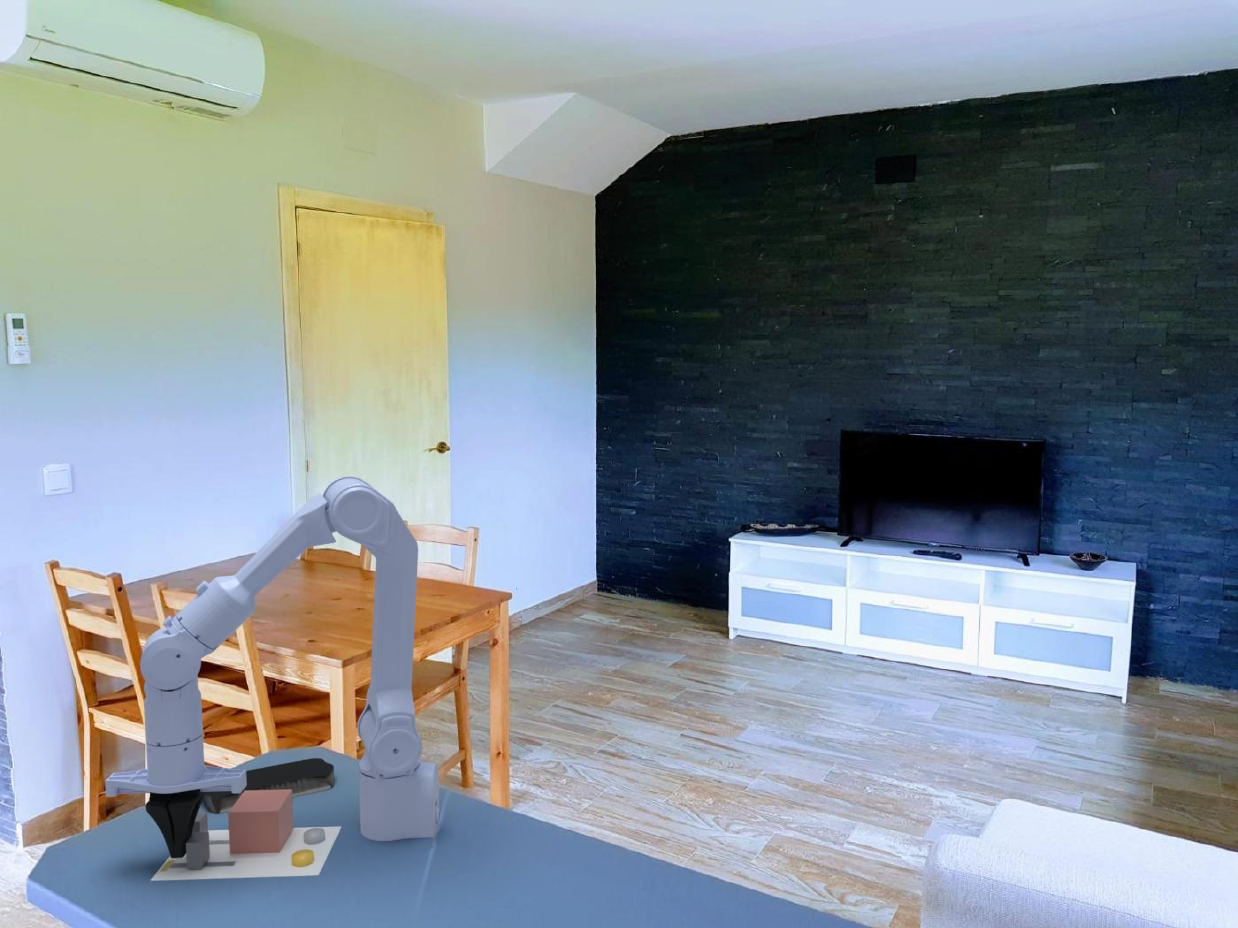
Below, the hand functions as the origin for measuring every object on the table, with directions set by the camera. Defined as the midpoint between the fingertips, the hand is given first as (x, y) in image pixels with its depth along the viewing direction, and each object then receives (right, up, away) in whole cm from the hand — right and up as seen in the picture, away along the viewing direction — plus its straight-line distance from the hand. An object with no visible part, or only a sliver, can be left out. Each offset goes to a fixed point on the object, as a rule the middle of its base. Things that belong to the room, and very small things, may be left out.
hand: (180, 853), depth 104 cm
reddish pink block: (+7, -1, +6) cm, 9 cm away
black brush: (+3, -1, +19) cm, 20 cm away
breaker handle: (+2, -1, 0) cm, 2 cm away
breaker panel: (+7, -2, +3) cm, 8 cm away
